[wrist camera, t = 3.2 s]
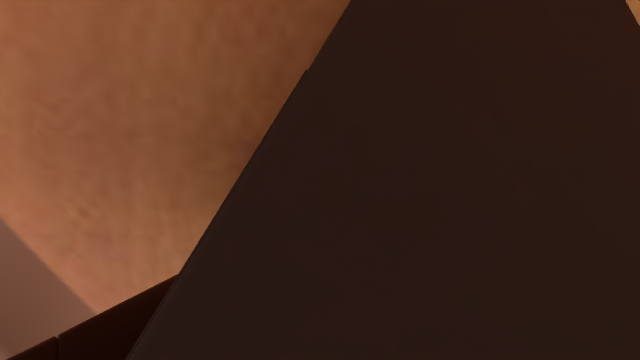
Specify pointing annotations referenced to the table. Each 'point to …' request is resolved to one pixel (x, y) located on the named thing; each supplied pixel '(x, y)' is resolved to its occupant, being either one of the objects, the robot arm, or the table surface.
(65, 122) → the table surface
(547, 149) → the stepped dark grey block
